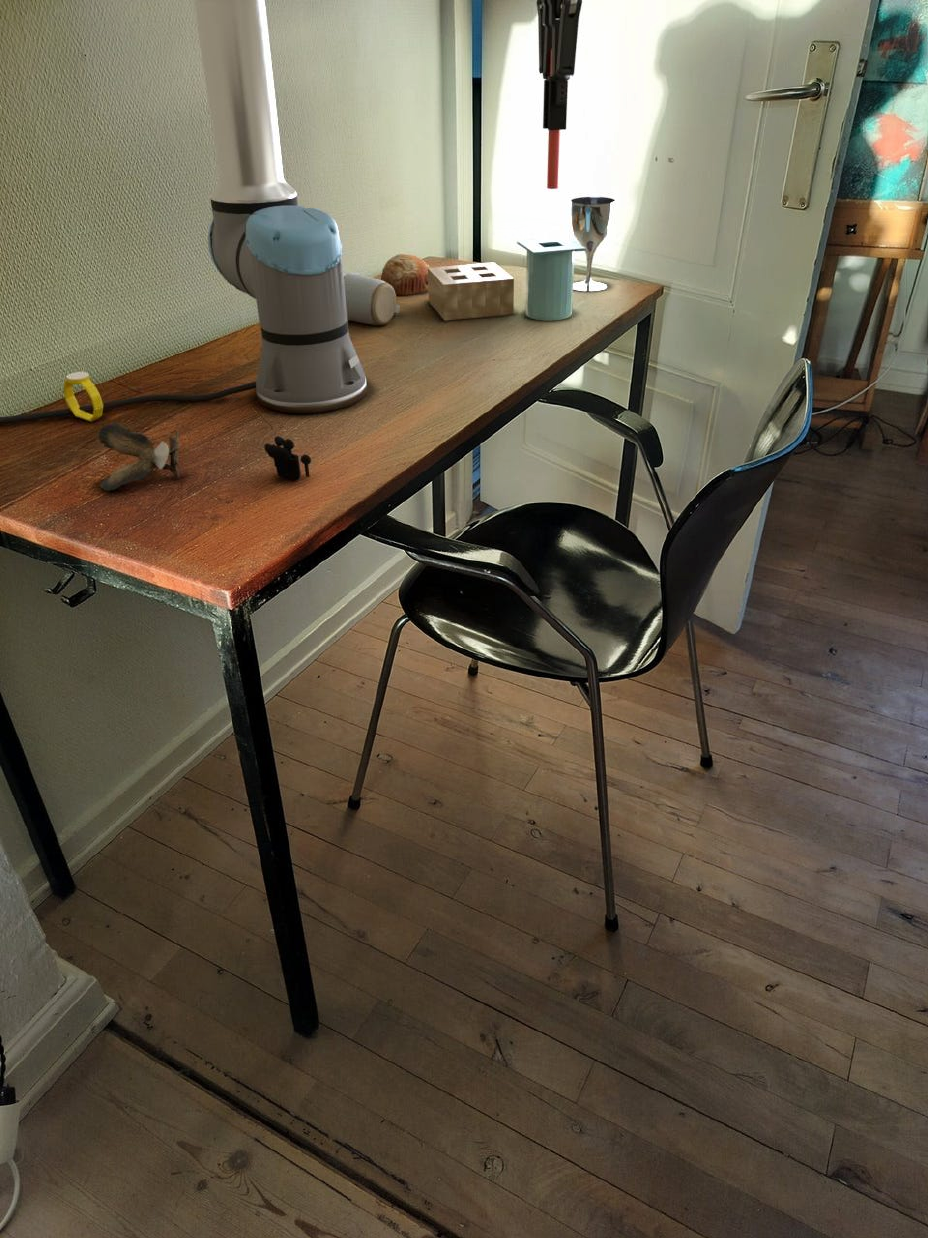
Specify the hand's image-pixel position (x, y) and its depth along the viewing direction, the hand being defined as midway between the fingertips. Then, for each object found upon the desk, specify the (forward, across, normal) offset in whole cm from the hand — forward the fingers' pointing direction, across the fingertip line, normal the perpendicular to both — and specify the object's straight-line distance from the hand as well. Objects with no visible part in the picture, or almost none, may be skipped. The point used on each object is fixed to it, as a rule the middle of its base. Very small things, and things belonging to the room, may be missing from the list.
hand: (554, 128), depth 140 cm
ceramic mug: (+29, +6, +30) cm, 42 cm away
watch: (+29, -27, +74) cm, 84 cm away
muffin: (+29, +25, +20) cm, 43 cm away
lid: (+17, 0, 0) cm, 17 cm away
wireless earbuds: (+29, -54, +50) cm, 79 cm away
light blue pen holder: (+28, 0, 0) cm, 28 cm away
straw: (+8, 0, 0) cm, 8 cm away
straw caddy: (+28, +8, +12) cm, 32 cm away
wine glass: (+29, +15, -13) cm, 35 cm away
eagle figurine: (+29, -49, +66) cm, 87 cm away
